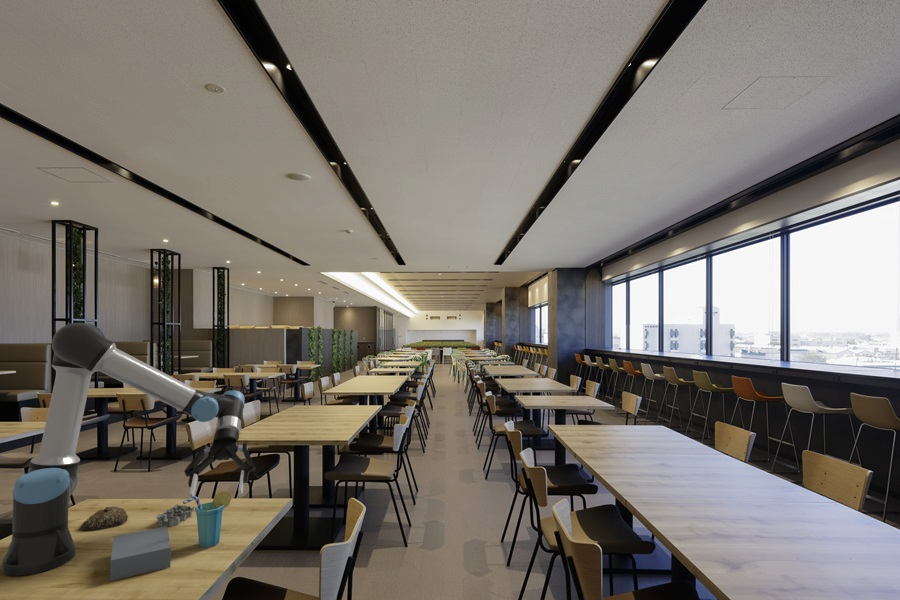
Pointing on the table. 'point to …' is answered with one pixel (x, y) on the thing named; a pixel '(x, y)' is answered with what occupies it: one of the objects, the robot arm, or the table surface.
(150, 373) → the robot arm
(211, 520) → the cup
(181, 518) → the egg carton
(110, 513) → the bread roll
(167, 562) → the slate block
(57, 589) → the table surface
